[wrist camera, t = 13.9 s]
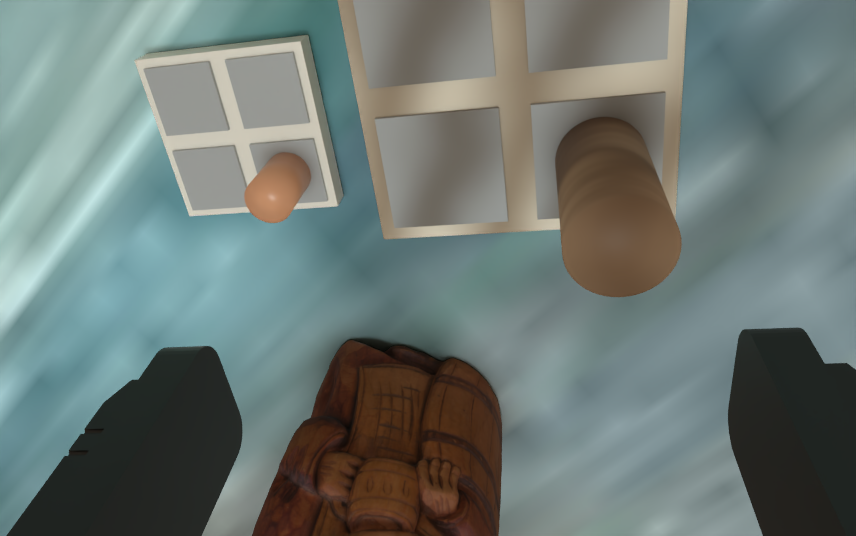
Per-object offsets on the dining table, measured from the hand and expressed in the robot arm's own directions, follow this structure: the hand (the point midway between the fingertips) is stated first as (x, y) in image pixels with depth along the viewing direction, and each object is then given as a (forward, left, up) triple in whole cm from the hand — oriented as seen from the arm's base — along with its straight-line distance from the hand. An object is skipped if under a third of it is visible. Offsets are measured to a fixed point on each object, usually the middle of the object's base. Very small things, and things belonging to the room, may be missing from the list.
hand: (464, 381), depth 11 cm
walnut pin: (+4, -5, -21) cm, 22 cm away
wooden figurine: (-7, -20, -23) cm, 31 cm away
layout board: (0, -2, -22) cm, 22 cm away
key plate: (-13, -3, -22) cm, 26 cm away
